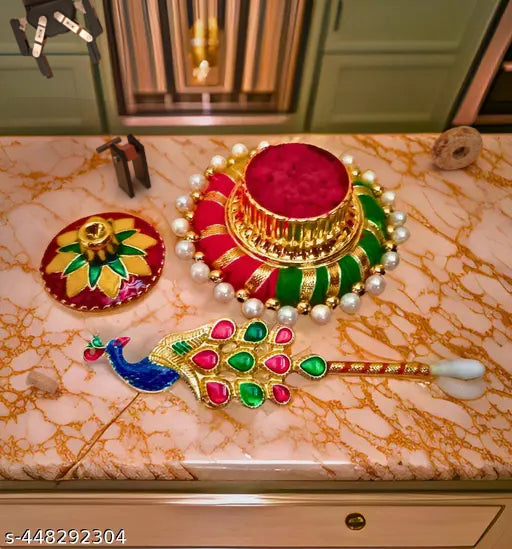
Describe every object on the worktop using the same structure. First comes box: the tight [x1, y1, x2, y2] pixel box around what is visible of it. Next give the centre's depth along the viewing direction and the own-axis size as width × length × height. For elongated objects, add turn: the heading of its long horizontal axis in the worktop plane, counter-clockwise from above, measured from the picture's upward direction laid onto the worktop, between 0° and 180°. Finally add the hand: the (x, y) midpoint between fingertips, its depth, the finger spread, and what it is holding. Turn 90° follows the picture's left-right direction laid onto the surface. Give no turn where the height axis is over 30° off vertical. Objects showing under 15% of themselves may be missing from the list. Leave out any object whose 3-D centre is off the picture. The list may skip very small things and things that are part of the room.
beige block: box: [25, 369, 59, 394], centre depth 93 cm, size 3×5×5 cm, turn 70°
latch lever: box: [95, 136, 138, 163], centre depth 113 cm, size 11×6×2 cm, turn 41°
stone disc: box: [430, 125, 484, 171], centre depth 122 cm, size 10×4×10 cm, turn 98°
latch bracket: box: [109, 133, 152, 200], centre depth 114 cm, size 11×8×13 cm
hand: (73, 71), depth 101 cm, fingers open, 8 cm apart
